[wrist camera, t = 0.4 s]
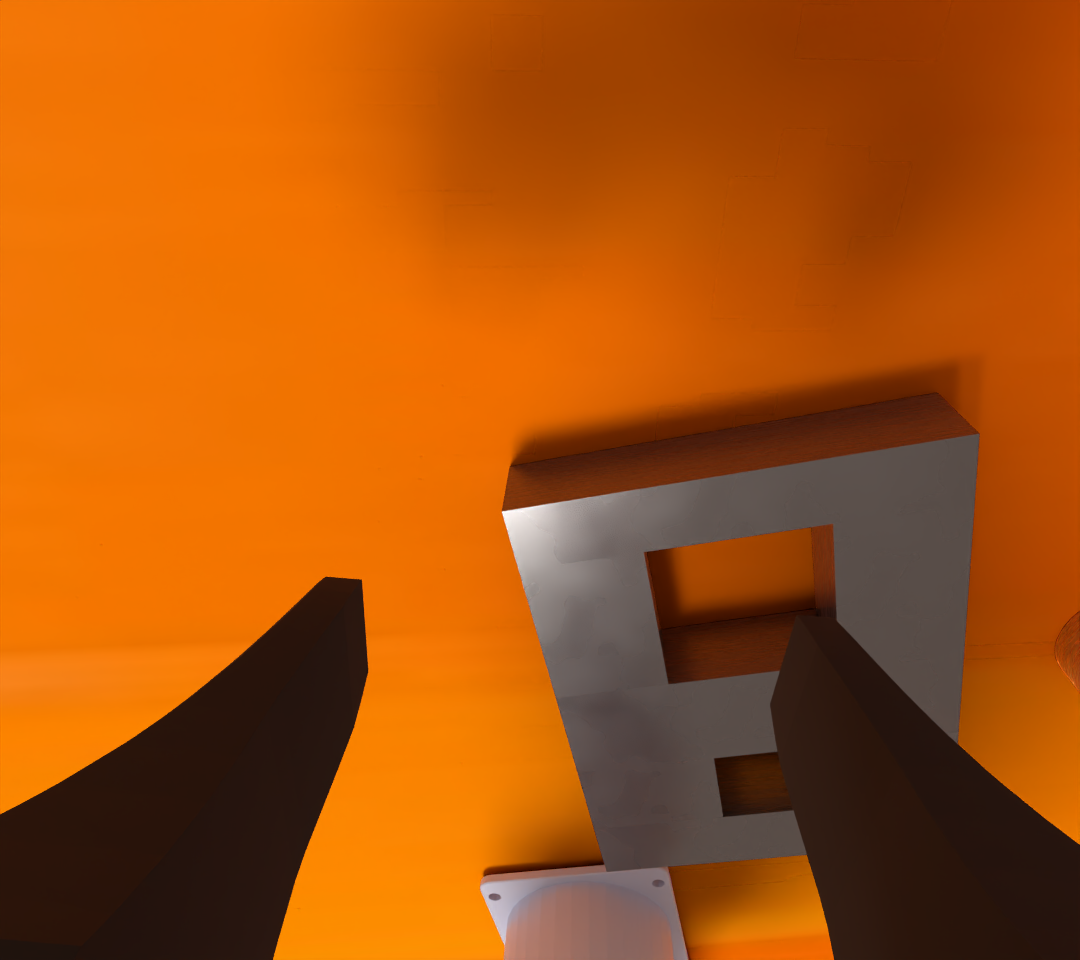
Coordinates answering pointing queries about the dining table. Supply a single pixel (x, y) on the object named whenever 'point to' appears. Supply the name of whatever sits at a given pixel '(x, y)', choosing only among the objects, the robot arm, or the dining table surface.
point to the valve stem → (1070, 650)
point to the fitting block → (742, 644)
